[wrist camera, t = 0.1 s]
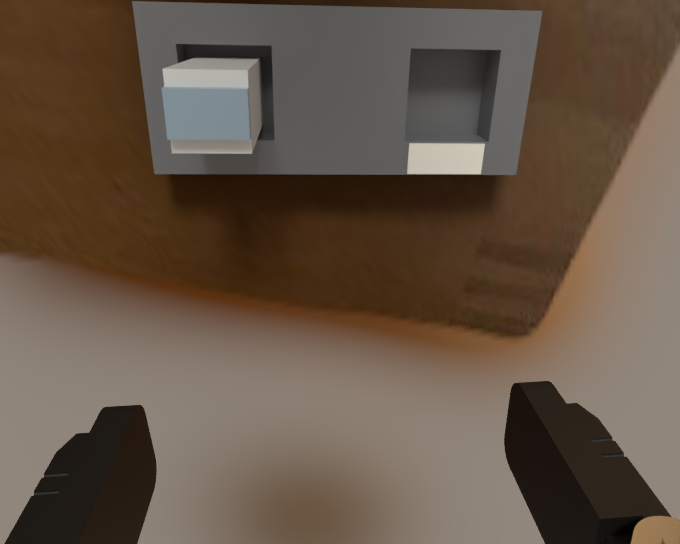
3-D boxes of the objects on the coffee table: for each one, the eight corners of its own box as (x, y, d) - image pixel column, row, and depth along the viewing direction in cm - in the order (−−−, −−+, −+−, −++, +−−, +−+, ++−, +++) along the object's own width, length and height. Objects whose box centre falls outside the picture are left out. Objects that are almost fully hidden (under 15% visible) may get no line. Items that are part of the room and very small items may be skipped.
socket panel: (147, 2, 33) (130, 1, 30) (521, 11, 35) (543, 11, 32) (165, 161, 38) (153, 174, 35) (499, 163, 39) (516, 175, 36)
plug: (198, 56, 34) (159, 69, 25) (261, 57, 35) (246, 71, 25) (204, 120, 36) (169, 156, 27) (264, 120, 36) (250, 156, 27)
